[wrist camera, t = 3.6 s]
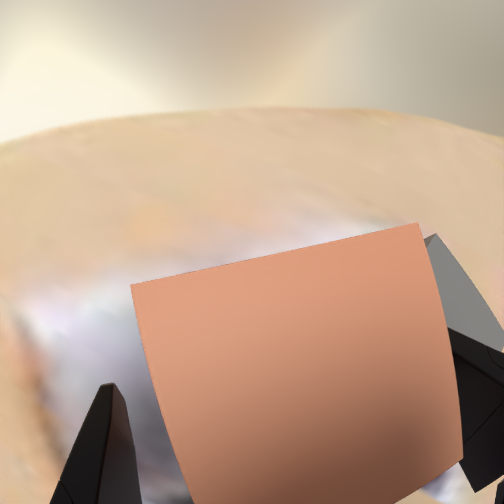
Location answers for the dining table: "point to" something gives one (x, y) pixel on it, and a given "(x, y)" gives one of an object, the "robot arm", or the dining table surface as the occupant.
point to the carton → (306, 373)
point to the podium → (462, 298)
